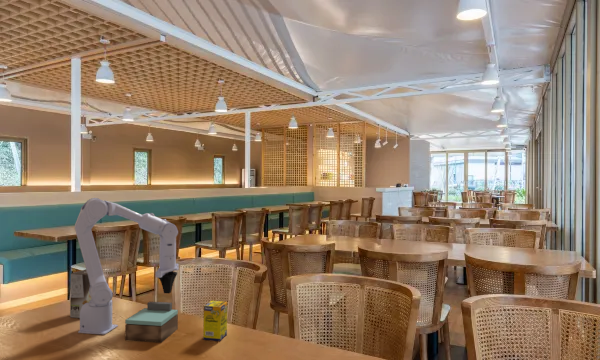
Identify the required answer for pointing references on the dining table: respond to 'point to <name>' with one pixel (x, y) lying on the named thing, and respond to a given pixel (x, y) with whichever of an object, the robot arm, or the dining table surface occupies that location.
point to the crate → (151, 331)
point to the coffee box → (79, 292)
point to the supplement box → (215, 321)
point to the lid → (153, 314)
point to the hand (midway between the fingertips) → (167, 292)
